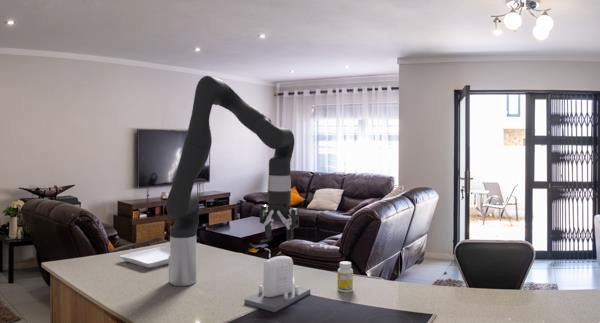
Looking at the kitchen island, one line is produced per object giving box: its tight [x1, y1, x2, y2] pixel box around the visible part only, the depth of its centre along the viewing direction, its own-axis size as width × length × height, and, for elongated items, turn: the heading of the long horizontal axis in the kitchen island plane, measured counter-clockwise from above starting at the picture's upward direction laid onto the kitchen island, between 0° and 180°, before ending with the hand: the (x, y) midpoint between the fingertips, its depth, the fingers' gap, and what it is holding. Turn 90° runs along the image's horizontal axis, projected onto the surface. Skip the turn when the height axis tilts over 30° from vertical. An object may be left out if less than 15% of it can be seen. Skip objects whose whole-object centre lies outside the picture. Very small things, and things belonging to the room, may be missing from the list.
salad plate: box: [119, 246, 170, 269], centre depth 184 cm, size 21×21×3 cm
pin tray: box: [243, 284, 311, 313], centre depth 141 cm, size 12×20×4 cm, turn 146°
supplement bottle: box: [337, 260, 354, 293], centre depth 149 cm, size 5×5×10 cm
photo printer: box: [263, 255, 294, 297], centre depth 141 cm, size 10×4×12 cm, turn 126°
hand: (278, 238), depth 140 cm, fingers open, 8 cm apart
